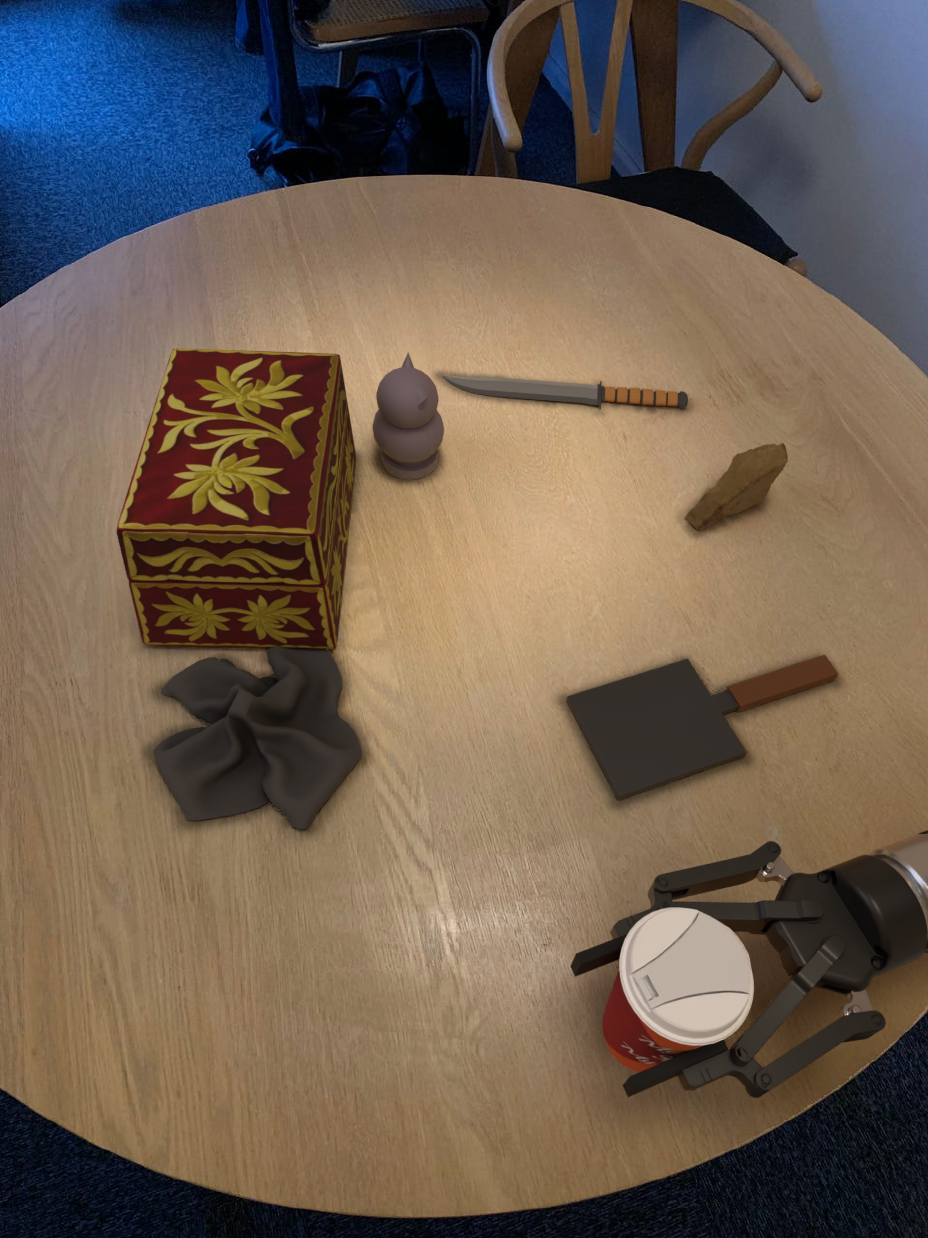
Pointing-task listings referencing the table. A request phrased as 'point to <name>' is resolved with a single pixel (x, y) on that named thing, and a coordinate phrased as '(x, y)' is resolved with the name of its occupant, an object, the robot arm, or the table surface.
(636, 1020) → the coffee cup
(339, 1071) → the table surface
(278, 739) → the cloth
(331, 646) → the decorative box
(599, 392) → the knife
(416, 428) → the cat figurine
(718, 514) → the rock
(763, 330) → the table surface
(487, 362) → the table surface
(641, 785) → the spatula
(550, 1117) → the table surface
